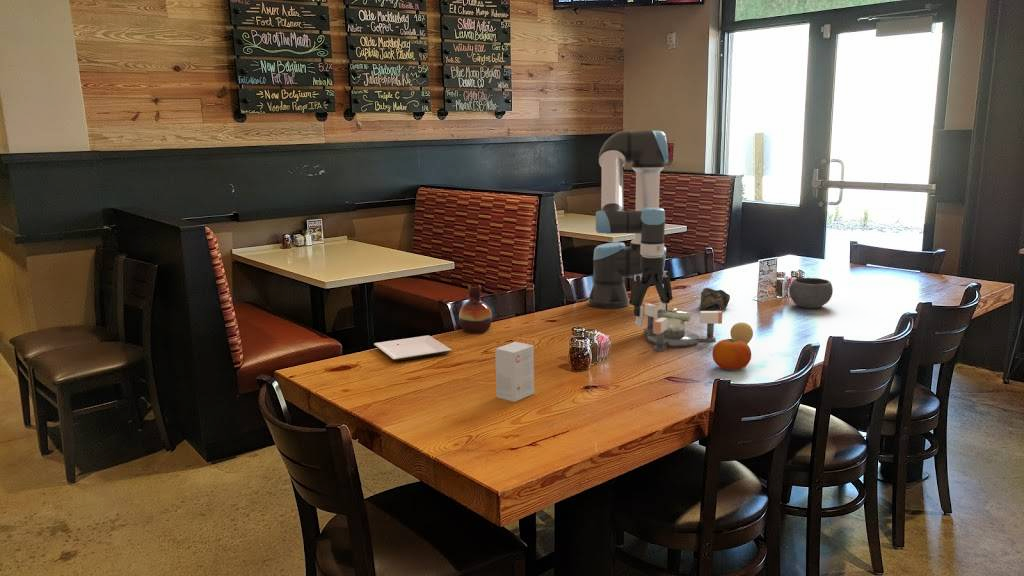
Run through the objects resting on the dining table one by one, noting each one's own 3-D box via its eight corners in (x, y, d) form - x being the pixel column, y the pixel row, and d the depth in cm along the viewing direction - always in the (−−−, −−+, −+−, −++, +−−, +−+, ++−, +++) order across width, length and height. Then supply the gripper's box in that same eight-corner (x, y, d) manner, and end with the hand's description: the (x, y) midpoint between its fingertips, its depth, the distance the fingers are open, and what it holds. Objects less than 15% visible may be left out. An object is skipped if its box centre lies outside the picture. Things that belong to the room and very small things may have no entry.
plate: (393, 365, 226) (393, 358, 226) (373, 349, 242) (373, 342, 242) (452, 355, 235) (452, 349, 234) (429, 341, 251) (429, 334, 250)
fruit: (744, 376, 211) (745, 348, 209) (706, 370, 216) (707, 342, 215) (754, 365, 220) (756, 338, 218) (718, 360, 225) (719, 333, 224)
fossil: (726, 303, 293) (730, 282, 287) (729, 319, 286) (733, 299, 280) (697, 301, 294) (700, 281, 288) (699, 318, 288) (702, 297, 281)
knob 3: (700, 337, 245) (701, 312, 243) (699, 335, 247) (700, 310, 245) (721, 337, 245) (722, 312, 243) (719, 335, 247) (720, 310, 245)
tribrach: (621, 345, 242) (621, 313, 240) (647, 329, 259) (647, 300, 257) (696, 356, 229) (697, 322, 227) (718, 339, 247) (719, 308, 245)
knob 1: (659, 330, 254) (659, 306, 252) (654, 331, 253) (654, 307, 251) (646, 325, 259) (647, 302, 258) (641, 326, 258) (642, 303, 257)
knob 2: (660, 342, 240) (661, 317, 238) (666, 343, 239) (667, 318, 237) (652, 347, 234) (653, 321, 233) (659, 348, 233) (659, 322, 232)
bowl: (787, 310, 284) (789, 283, 281) (789, 301, 297) (791, 275, 295) (831, 313, 278) (833, 285, 276) (831, 304, 292) (833, 278, 289)
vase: (497, 328, 264) (496, 283, 261) (483, 336, 255) (481, 290, 251) (468, 325, 269) (467, 281, 266) (453, 333, 259) (451, 287, 256)
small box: (515, 389, 204) (515, 341, 201) (534, 394, 200) (534, 345, 197) (495, 397, 198) (494, 348, 195) (514, 402, 194) (513, 352, 191)
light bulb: (752, 353, 231) (754, 320, 229) (751, 359, 226) (753, 326, 223) (730, 351, 233) (731, 319, 231) (728, 357, 228) (730, 324, 226)
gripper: (632, 260, 243) (631, 330, 248) (685, 254, 253) (683, 321, 257) (618, 257, 249) (617, 325, 254) (670, 251, 259) (668, 317, 264)
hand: (650, 323), depth 256 cm, fingers open, 9 cm apart
